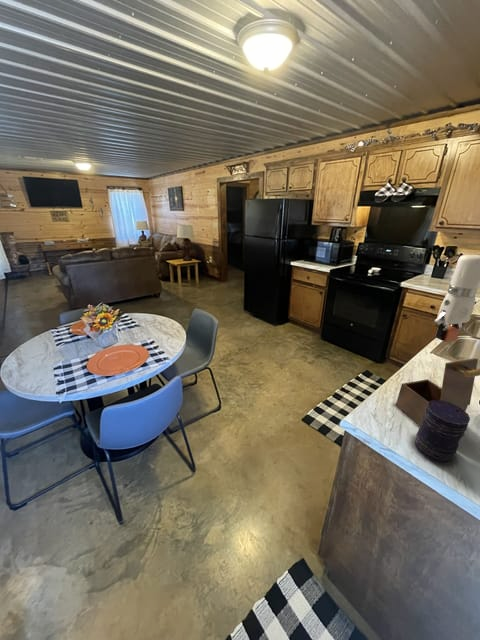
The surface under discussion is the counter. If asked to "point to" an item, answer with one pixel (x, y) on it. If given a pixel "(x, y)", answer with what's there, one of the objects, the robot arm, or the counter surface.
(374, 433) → the counter surface
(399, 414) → the counter surface
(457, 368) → the lid
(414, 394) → the chest
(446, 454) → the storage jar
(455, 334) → the block
